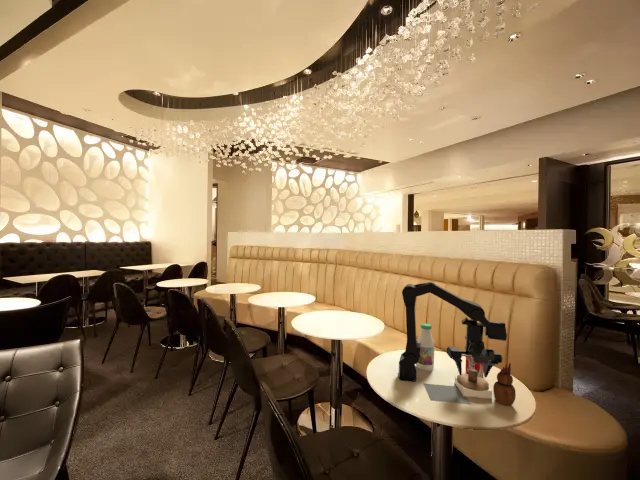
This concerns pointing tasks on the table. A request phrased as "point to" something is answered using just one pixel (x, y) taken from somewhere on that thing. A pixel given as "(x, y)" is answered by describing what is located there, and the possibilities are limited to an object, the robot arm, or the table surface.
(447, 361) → the table surface
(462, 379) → the lid
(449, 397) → the mat
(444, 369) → the table surface
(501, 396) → the wooden figurine
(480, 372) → the soda can
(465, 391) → the white square tray
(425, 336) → the milk bottle
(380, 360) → the table surface
